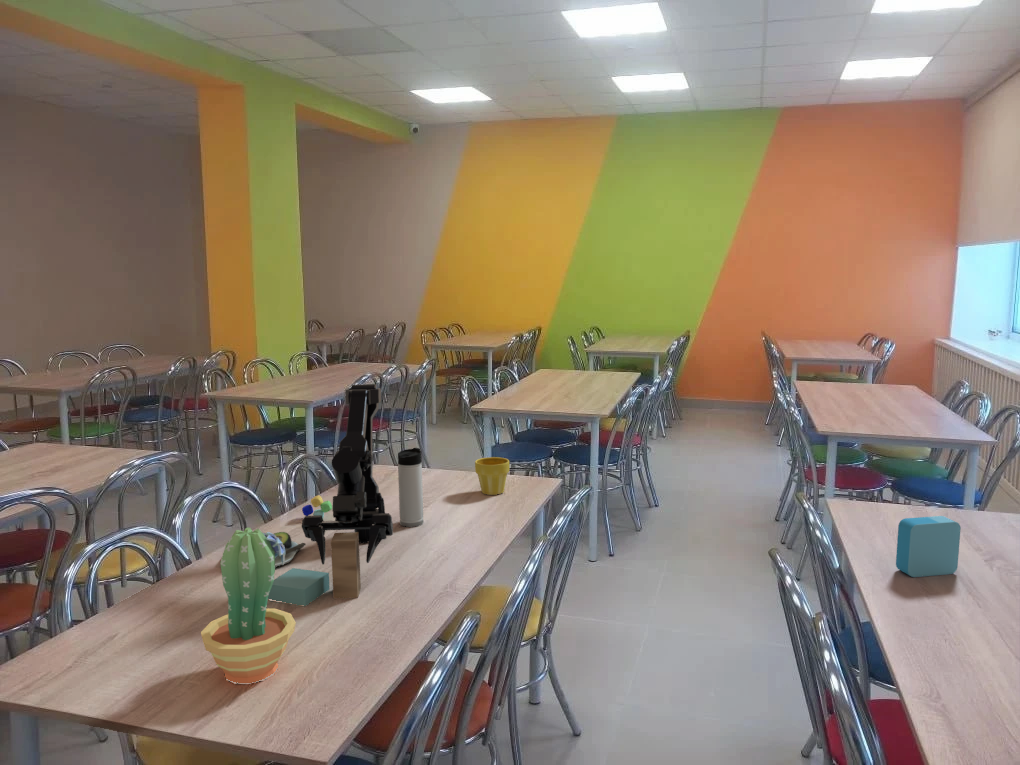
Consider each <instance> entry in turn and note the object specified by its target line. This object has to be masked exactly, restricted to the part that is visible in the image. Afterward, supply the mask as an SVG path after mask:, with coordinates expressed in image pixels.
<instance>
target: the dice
mask: <svg viewBox="0 0 1020 765" xmlns="http://www.w3.org/2000/svg"><path fill="white" fill-rule="evenodd" d="M310 503H311V504H307V505H304V506H303V507H302V509H301V510H302V514H303V515H304V517H305V516H311V515H312V514H313V515H312V516H314V515H322V518H323V517H324V516H325V513H328V512H330V511H332V509H333V503H332V502H331V501H330V500H325V501H324V500H323V498H322V496H321V495H315V496H314V497H313V498H311V499H310ZM313 507H314V508H318V507H320V508H319V509H314V508H313ZM324 518H325V517H324ZM324 518H323V519H324Z"/></svg>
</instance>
